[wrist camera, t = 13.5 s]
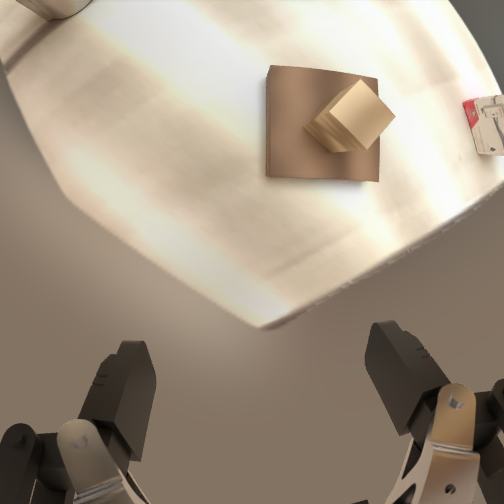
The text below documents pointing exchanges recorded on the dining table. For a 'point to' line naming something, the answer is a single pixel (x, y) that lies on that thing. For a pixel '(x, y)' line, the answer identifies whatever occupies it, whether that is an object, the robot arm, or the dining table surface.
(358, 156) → the walnut slab
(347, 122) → the oak post
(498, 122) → the ink box
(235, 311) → the dining table surface
